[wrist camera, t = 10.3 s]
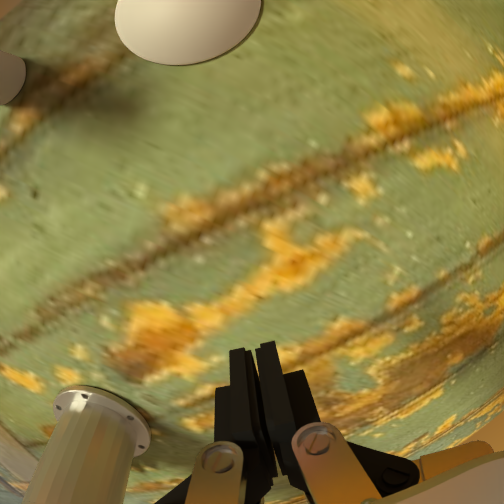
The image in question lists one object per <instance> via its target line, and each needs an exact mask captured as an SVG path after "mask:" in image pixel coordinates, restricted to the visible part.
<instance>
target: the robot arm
mask: <svg viewBox="0 0 504 504" xmlns="http://www.w3.org/2000/svg"><path fill="white" fill-rule="evenodd" d="M260 347H261V348H257V349H255V351H256V358H257V365H258V372H259V377H258V373H257V370H256V366H255V363H254V359H253V356H252V352H251V350H248V351H245V348H239V349H234V350H230V351H229V357H230V386H224V387H218V388H216V390H215V423H214V443H211V444H208V445H207V446H205V447H204V448H203V449H202V450H201V451H200V452H199V453H198V455H197V457H196V460H195V464H194V468H193V473H192V474H191V475H190V476H189V477H188V478H186V479H185V480H184V481H183V482H182V483H180V484H179V485H178V486H177V487H175V488H174V489H173V490H171V491H170V492H169V493H168V494H166V495H165V496H164V497H162V498H161V499H160V500H158V501H157V502H156V503H154V504H264V502H265V501H264V496H265V495H266V493H267V492H268V491H269V490H270V489H271V486H273V479H272V478H273V477H278V473H277V467H276V461H275V455H274V451H275V454H276V457H277V460H278V463H279V466H280V469H281V472H282V475H283V476H284V475H288V479H289V482H290V485H292V486H294V487H296V488H298V489H300V490H302V491H303V493H304V495H305V498H306V500H307V502H308V504H504V451H500V452H495V453H494V451H493V449H492V447H491V446H490V445H489V444H488V443H486V442H484V441H479V440H478V441H472V442H469V443H466V444H463V445H459V446H456V447H453V448H449V449H446V450H442V451H439V452H435V453H431V454H427V455H423V456H420V459H416V460H412V461H411V460H408V459H406V458H402V457H398V456H395V455H391V454H387V453H384V452H380V451H377V450H373V449H370V448H367V447H363V446H360V445H357V444H354V443H351V442H348V441H346V440H345V439H344V437H343V436H342V434H341V432H340V431H339V430H338V429H337V428H336V427H335V426H333V425H331V424H330V423H325V422H321V421H320V418H319V415H318V412H317V409H316V406H315V403H314V400H313V397H312V394H311V391H310V388H309V385H308V382H307V379H306V376H305V373H304V371H303V370H299V371H295V372H291V373H287V374H283V373H282V369H281V365H280V361H279V357H278V353H277V349H276V345H275V341H271V342H267V343H262V344H260ZM259 379H260V380H259ZM53 411H54V415H55V418H56V419H57V421H58V423H57V425H56V427H55V429H54V431H53V433H52V435H51V437H50V439H49V441H48V443H47V446H46V448H45V450H44V452H43V454H42V456H41V459H40V461H39V463H38V465H37V468H36V470H35V472H34V474H33V477H32V479H31V481H30V484H29V486H28V489H27V491H26V493H25V496H24V498H23V501H22V503H21V504H123V502H124V497H125V492H126V487H127V483H128V478H129V474H130V469H131V465H132V460H133V457H136V456H139V455H141V454H143V453H144V452H145V451H146V450H147V449H148V447H149V445H150V441H151V431H150V428H149V425H148V424H147V422H146V420H145V419H144V418H143V417H142V415H141V414H140V413H139V412H138V411H137V410H136V409H134V408H133V407H132V406H131V405H130V404H128V403H127V402H125V401H124V400H122V399H120V398H119V397H117V396H115V395H113V394H111V393H108V392H106V391H104V390H101V389H97V388H94V387H88V386H70V387H67V388H65V389H63V390H61V391H60V392H59V393H58V395H57V397H56V398H55V400H54V403H53ZM273 448H274V449H273Z"/></svg>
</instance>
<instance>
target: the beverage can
mask: <svg viewBox="0 0 504 504" xmlns="http://www.w3.org/2000/svg"><path fill="white" fill-rule="evenodd" d="M25 77H26V66H25V63H24V61H23V60H22V59H21V58H20V57H18V56H15V55H12V54H9V53H6V52H4V51H1V50H0V105H4V104H7V103H8V102H10V101H11V100H12V99H13V98H14V97H15V96H16V95H17V94H18V92H19V91H20V90H21V88H22V86H23V84H24V81H25Z"/></svg>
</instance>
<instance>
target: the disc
mask: <svg viewBox="0 0 504 504" xmlns="http://www.w3.org/2000/svg"><path fill="white" fill-rule="evenodd" d="M260 7H261V0H118V3H117V6H116V11H115V25H116V29H117V32H118V35H119V37H120V39H121V40H122V42H123V43H124V44H125V46H126V47H127V48H128V49H130V50H131V51H132V52H133V53H135V54H136V55H137V56H139V57H141V58H143V59H145V60H148V61H151V62H154V63H159V64H164V65H187V64H194V63H198V62H203V61H206V60H209V59H212V58H214V57H216V56H219V55H221V54H223V53H225V52H226V51H228V50H230V49H231V48H233V47H234V46H235V45H237V44H238V43H239V42H240V41H241V40H242V39H243V38H245V37H246V35H247V34H248V33H249V32H250V31H251V29H252V27H253V26H254V24H255V22H256V20H257V18H258V15H259V11H260Z"/></svg>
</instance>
